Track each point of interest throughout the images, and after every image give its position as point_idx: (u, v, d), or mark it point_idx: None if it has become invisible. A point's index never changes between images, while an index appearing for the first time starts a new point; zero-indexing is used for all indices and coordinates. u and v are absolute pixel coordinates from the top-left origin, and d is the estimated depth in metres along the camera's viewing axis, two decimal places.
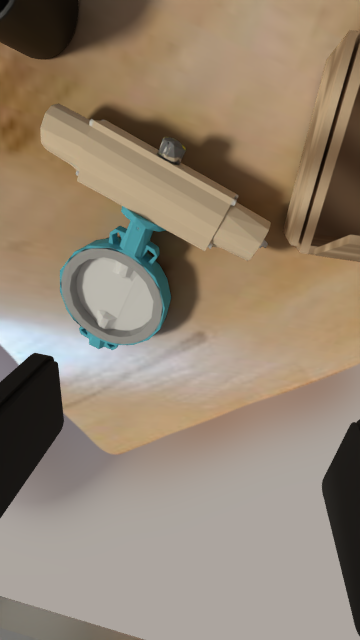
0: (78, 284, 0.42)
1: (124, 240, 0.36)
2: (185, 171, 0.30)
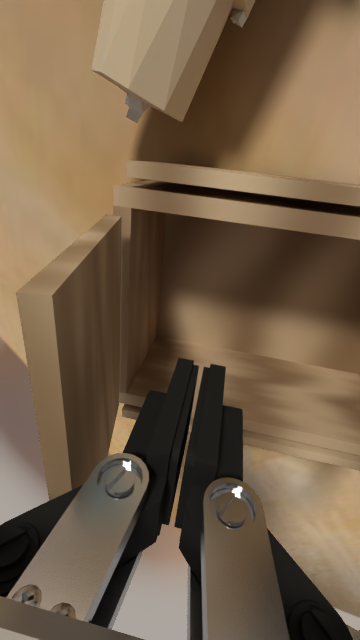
0: None
1: None
2: None
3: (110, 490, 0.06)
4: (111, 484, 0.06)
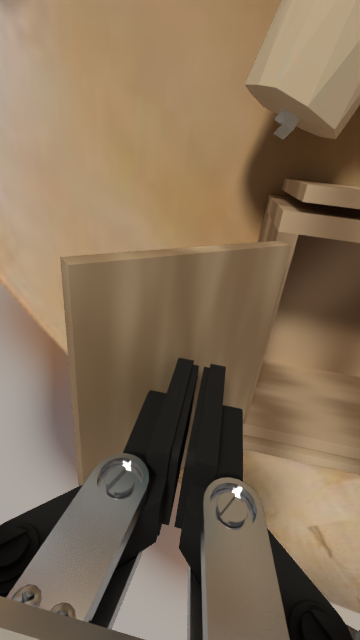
0: None
1: None
2: None
3: (110, 490, 0.06)
4: (111, 484, 0.06)
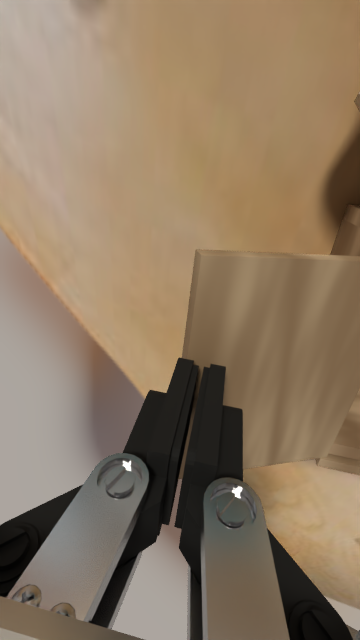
0: None
1: None
2: None
3: (110, 490, 0.06)
4: (111, 484, 0.06)
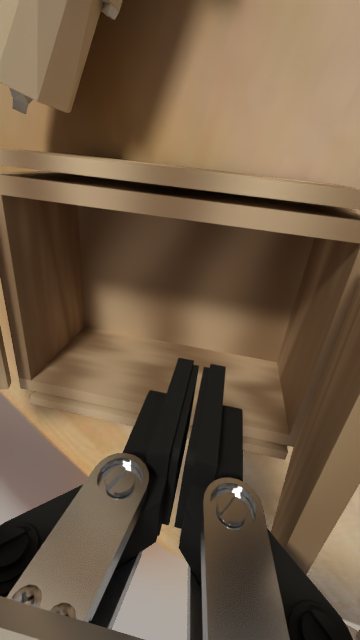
0: None
1: None
2: None
3: (110, 490, 0.06)
4: (111, 484, 0.06)
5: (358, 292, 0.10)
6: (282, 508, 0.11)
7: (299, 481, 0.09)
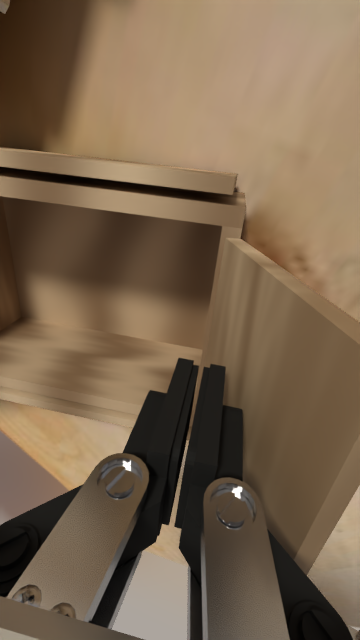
0: None
1: None
2: None
3: (110, 490, 0.06)
4: (111, 484, 0.06)
5: (232, 276, 0.11)
6: None
7: (259, 479, 0.08)
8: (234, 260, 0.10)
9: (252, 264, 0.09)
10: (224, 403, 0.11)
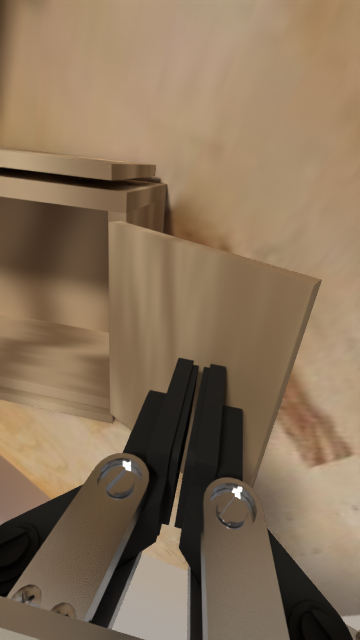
0: None
1: None
2: None
3: (110, 490, 0.06)
4: (111, 484, 0.06)
5: (131, 256, 0.12)
6: (186, 441, 0.13)
7: None
8: (130, 241, 0.11)
9: (159, 241, 0.10)
10: (153, 368, 0.13)
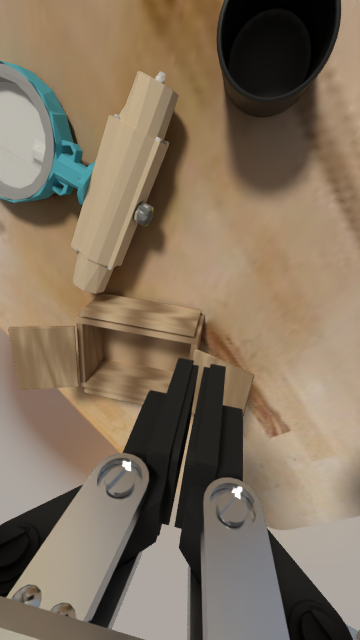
0: (10, 85, 0.35)
1: (66, 161, 0.36)
2: (127, 229, 0.37)
3: (110, 490, 0.06)
4: (111, 484, 0.06)
5: (202, 361, 0.39)
6: None
7: (229, 403, 0.39)
8: (202, 357, 0.39)
9: (212, 360, 0.38)
10: None
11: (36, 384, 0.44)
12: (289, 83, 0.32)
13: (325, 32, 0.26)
